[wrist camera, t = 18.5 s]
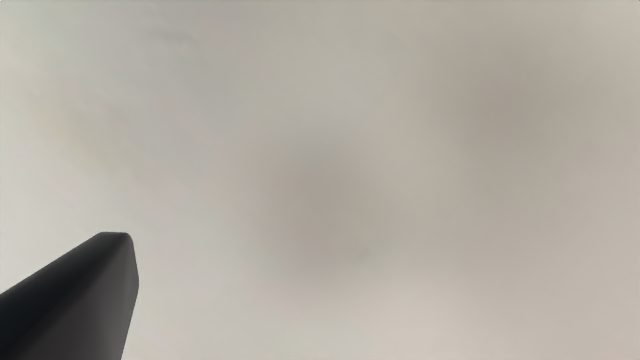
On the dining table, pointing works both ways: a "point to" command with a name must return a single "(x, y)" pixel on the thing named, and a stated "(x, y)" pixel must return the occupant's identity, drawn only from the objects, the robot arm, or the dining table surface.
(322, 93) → the dining table surface
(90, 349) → the robot arm
